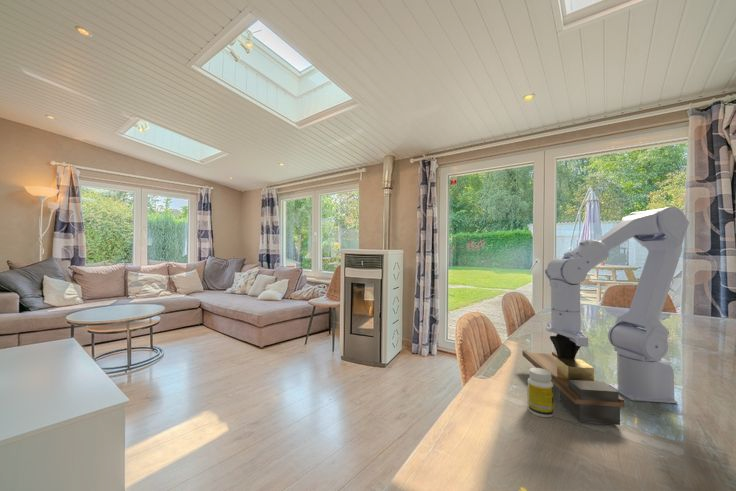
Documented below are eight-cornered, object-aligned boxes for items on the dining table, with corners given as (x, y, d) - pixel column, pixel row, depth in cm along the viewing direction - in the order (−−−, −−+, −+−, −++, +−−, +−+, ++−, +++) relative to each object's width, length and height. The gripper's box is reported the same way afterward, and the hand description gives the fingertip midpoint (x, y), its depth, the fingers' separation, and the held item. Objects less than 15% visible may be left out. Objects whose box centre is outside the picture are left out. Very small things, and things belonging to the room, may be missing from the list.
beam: (555, 369, 85) (554, 346, 85) (624, 425, 57) (624, 392, 57) (522, 367, 86) (522, 345, 86) (575, 421, 58) (575, 389, 59)
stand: (584, 387, 75) (584, 371, 75) (605, 403, 67) (605, 385, 67) (526, 384, 77) (526, 368, 77) (540, 399, 69) (540, 381, 69)
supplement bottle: (557, 419, 60) (557, 376, 60) (532, 416, 61) (531, 374, 61) (548, 407, 65) (548, 367, 65) (524, 405, 66) (524, 366, 66)
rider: (580, 377, 69) (580, 359, 69) (593, 387, 64) (593, 368, 64) (557, 375, 70) (557, 358, 70) (568, 385, 65) (568, 366, 65)
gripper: (534, 304, 78) (535, 357, 78) (562, 315, 64) (562, 380, 64) (564, 305, 77) (564, 358, 77) (598, 316, 63) (599, 382, 63)
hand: (566, 368), depth 70 cm, fingers closed
